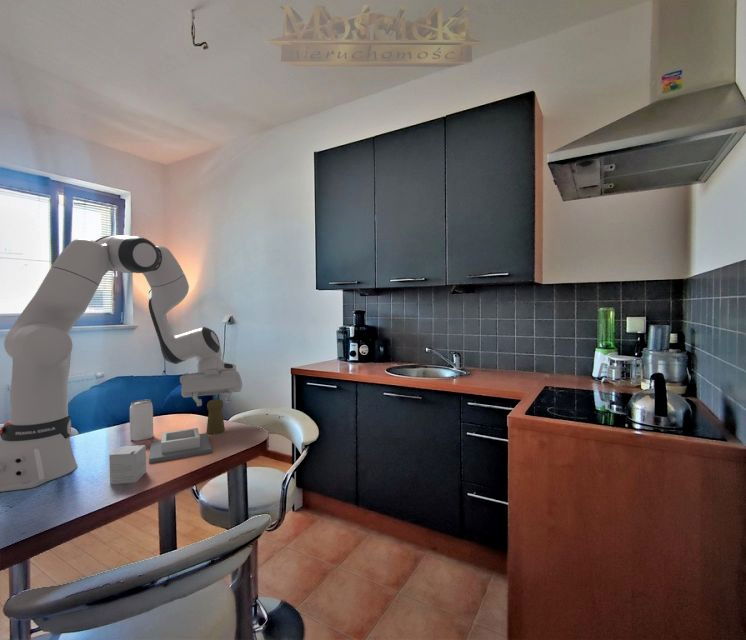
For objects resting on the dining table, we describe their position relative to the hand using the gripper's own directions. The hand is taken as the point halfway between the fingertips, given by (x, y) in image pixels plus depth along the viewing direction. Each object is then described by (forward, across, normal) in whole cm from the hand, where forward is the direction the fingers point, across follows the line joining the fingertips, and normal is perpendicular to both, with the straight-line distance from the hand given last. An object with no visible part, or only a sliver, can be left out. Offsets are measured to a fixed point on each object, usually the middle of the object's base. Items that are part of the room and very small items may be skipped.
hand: (214, 403), depth 133 cm
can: (+5, -22, +8) cm, 24 cm away
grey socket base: (+17, -11, -4) cm, 21 cm away
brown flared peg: (+9, 0, +4) cm, 10 cm away
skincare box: (+28, -23, -15) cm, 40 cm away
